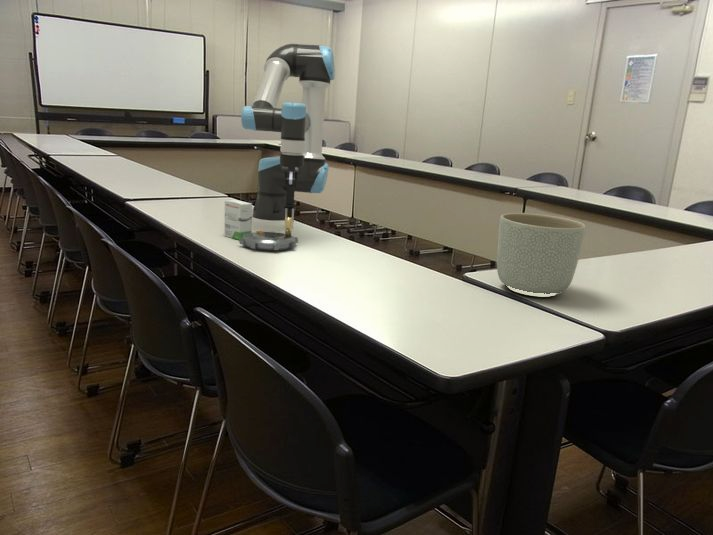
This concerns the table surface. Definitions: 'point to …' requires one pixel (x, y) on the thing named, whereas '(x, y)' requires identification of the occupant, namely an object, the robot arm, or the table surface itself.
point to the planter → (538, 251)
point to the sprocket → (271, 239)
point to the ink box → (237, 218)
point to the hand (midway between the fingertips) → (288, 227)
